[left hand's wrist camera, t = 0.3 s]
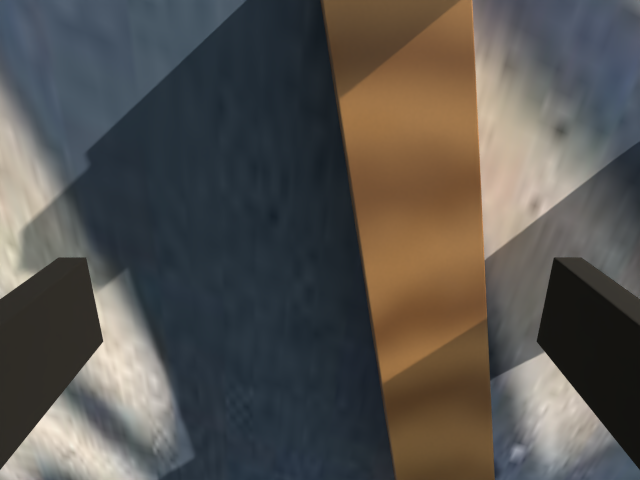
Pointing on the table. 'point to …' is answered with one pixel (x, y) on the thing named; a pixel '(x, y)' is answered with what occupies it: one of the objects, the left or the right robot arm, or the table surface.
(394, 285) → the thick board
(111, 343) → the table surface
